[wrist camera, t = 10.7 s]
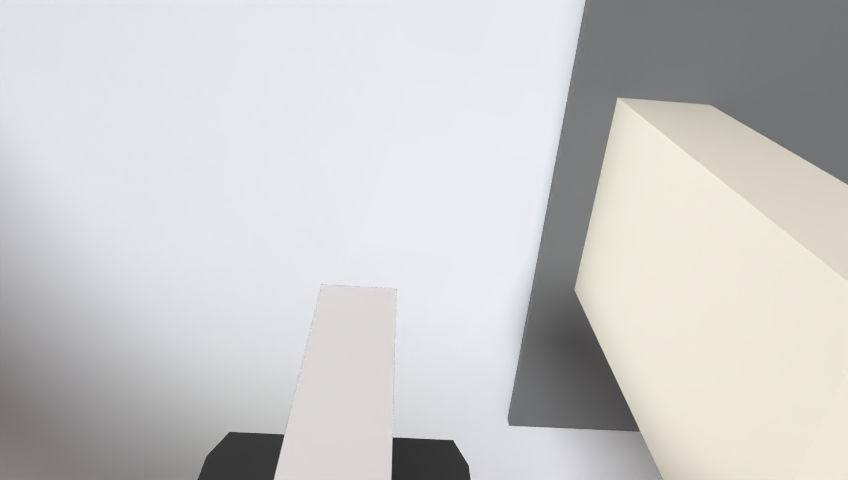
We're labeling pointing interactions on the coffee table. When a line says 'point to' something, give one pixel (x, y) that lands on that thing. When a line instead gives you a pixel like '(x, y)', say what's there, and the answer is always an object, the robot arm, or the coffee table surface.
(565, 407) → the mat
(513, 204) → the coffee table surface
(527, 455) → the coffee table surface
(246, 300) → the coffee table surface
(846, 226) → the slab
